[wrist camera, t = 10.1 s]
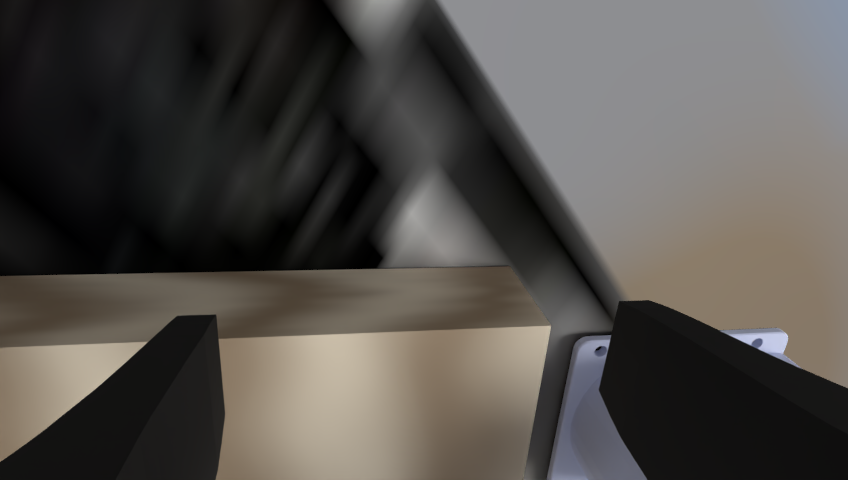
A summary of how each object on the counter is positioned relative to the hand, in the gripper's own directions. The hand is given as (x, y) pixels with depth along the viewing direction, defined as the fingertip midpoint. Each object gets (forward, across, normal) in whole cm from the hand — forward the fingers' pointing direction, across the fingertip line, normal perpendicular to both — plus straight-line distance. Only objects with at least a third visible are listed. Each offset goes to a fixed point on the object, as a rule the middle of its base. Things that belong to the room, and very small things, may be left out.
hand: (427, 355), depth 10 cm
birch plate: (+9, +4, +11) cm, 15 cm away
